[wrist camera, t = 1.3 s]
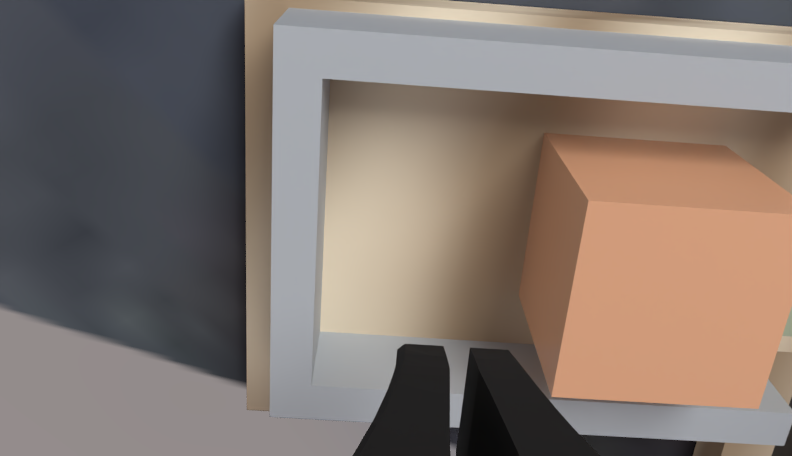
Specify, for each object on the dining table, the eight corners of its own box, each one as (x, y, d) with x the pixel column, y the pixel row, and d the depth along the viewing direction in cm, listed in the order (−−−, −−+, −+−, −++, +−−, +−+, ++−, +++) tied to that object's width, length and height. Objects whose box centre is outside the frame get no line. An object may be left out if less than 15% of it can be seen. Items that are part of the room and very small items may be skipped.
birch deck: (1105, 50, 19) (1160, 62, 18) (908, 492, 25) (938, 527, 24) (255, -15, 18) (244, -8, 17) (255, 457, 24) (247, 491, 23)
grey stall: (846, 49, 18) (914, 73, 15) (742, 387, 21) (784, 446, 19) (289, 7, 17) (273, 24, 15) (282, 360, 21) (269, 416, 19)
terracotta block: (725, 145, 19) (820, 216, 14) (684, 305, 20) (758, 408, 16) (544, 132, 18) (588, 201, 14) (518, 295, 20) (551, 397, 16)
